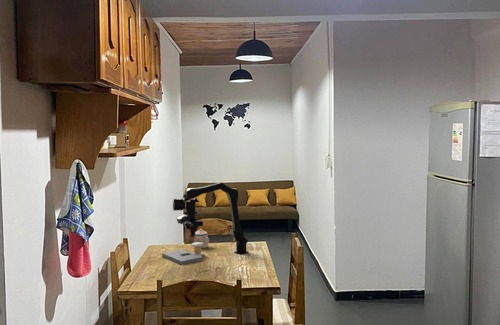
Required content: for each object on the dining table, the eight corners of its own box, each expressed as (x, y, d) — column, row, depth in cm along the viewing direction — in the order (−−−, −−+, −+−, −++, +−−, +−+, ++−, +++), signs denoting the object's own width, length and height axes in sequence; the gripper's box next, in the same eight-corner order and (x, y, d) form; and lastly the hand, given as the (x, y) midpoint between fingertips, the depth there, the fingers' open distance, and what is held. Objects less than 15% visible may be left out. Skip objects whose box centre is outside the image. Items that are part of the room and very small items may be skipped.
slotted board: (203, 260, 269) (203, 257, 269) (181, 264, 261) (181, 261, 261) (183, 252, 288) (183, 249, 288) (162, 256, 280) (162, 253, 280)
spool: (205, 255, 281) (205, 243, 281) (195, 257, 277) (195, 245, 277) (199, 253, 287) (199, 241, 287) (189, 254, 283) (189, 243, 282)
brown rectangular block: (195, 239, 275) (195, 228, 275) (188, 239, 272) (188, 229, 272) (192, 238, 278) (192, 228, 277) (186, 239, 275) (186, 228, 275)
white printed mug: (191, 247, 304) (190, 229, 303) (202, 244, 310) (201, 227, 309) (203, 249, 295) (202, 231, 295) (214, 247, 302) (213, 229, 301)
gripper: (170, 209, 277) (171, 235, 278) (186, 213, 262) (186, 240, 263) (187, 207, 284) (187, 233, 284) (203, 211, 269) (203, 238, 269)
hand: (190, 236), depth 275 cm, fingers closed on brown rectangular block, 3 cm apart
